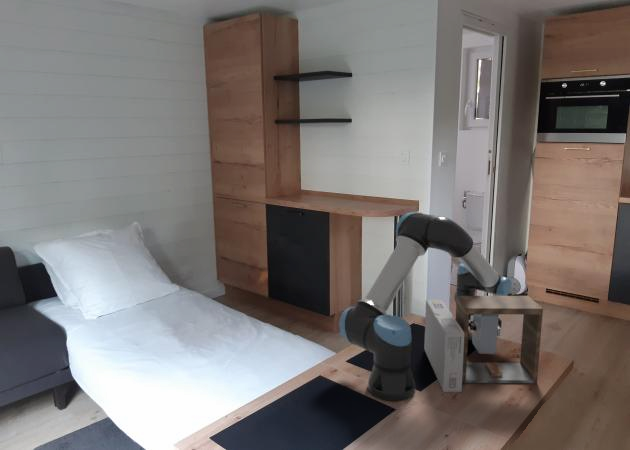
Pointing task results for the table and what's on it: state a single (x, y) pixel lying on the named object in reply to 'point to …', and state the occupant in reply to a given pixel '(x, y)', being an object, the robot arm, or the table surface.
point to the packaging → (444, 345)
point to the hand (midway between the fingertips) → (489, 332)
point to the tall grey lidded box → (486, 333)
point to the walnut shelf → (529, 346)
